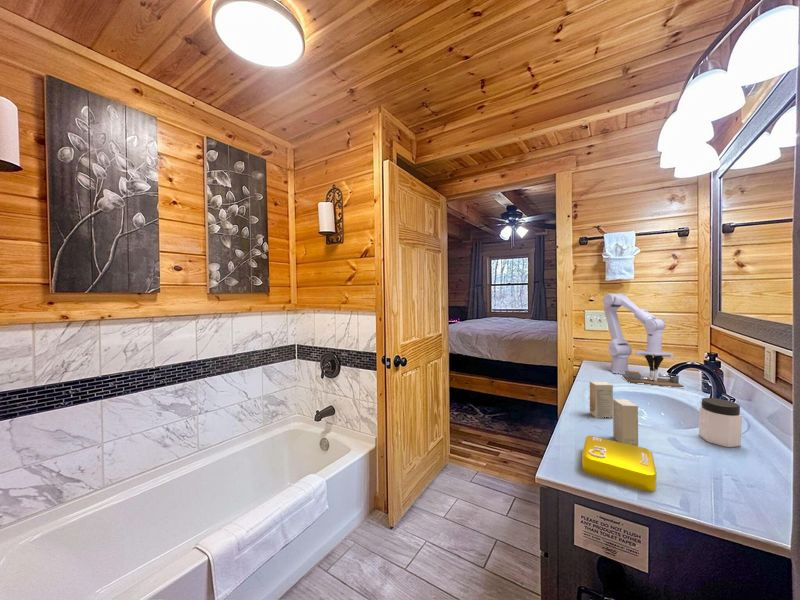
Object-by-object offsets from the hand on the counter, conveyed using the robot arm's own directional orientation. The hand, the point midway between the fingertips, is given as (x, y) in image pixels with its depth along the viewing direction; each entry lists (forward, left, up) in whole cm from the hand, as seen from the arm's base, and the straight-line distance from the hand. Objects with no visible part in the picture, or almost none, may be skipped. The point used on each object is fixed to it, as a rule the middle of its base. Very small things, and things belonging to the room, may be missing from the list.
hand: (653, 370), depth 154 cm
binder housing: (0, -8, -6) cm, 10 cm away
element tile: (+93, -37, -7) cm, 100 cm away
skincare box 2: (+76, -31, -6) cm, 82 cm away
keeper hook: (0, +6, -5) cm, 7 cm away
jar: (+65, -4, -6) cm, 65 cm away
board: (0, -1, -6) cm, 6 cm away
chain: (0, -5, -5) cm, 6 cm away
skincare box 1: (+56, -34, -6) cm, 66 cm away
